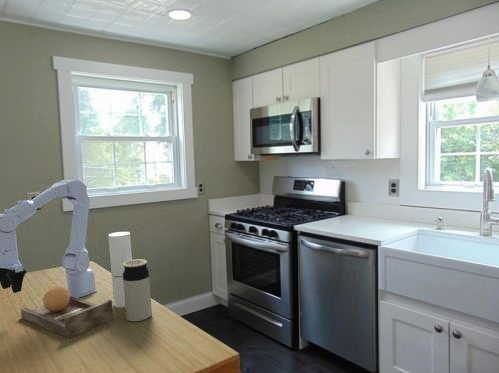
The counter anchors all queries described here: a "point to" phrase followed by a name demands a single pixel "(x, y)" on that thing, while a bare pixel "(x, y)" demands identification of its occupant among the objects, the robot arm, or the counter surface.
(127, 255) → the cylindrical container
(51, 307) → the ball
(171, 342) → the counter surface
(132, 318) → the travel mug
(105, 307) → the tray
